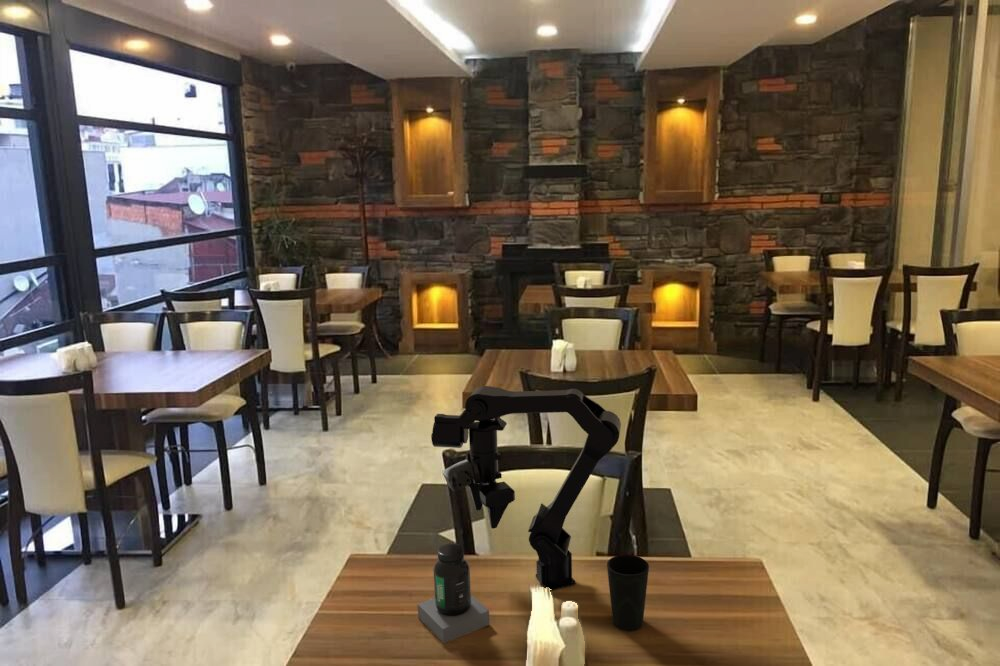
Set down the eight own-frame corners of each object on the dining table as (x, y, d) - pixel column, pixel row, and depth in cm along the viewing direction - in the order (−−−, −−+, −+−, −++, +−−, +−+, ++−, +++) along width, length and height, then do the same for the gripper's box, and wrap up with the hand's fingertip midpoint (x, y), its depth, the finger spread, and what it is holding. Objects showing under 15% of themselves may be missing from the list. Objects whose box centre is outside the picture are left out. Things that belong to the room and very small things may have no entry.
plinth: (462, 600, 150) (462, 587, 149) (489, 624, 142) (489, 610, 141) (418, 618, 144) (417, 604, 144) (443, 643, 136) (442, 629, 136)
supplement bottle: (440, 620, 138) (437, 561, 136) (431, 601, 145) (428, 544, 142) (475, 612, 140) (473, 554, 138) (465, 593, 147) (462, 537, 144)
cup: (648, 636, 136) (648, 577, 134) (606, 632, 138) (605, 573, 135) (648, 612, 144) (649, 555, 141) (608, 609, 145) (608, 553, 143)
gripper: (432, 440, 159) (436, 508, 162) (460, 471, 142) (464, 546, 145) (481, 432, 163) (484, 498, 166) (515, 461, 146) (516, 535, 149)
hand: (485, 518), depth 156 cm, fingers open, 9 cm apart
